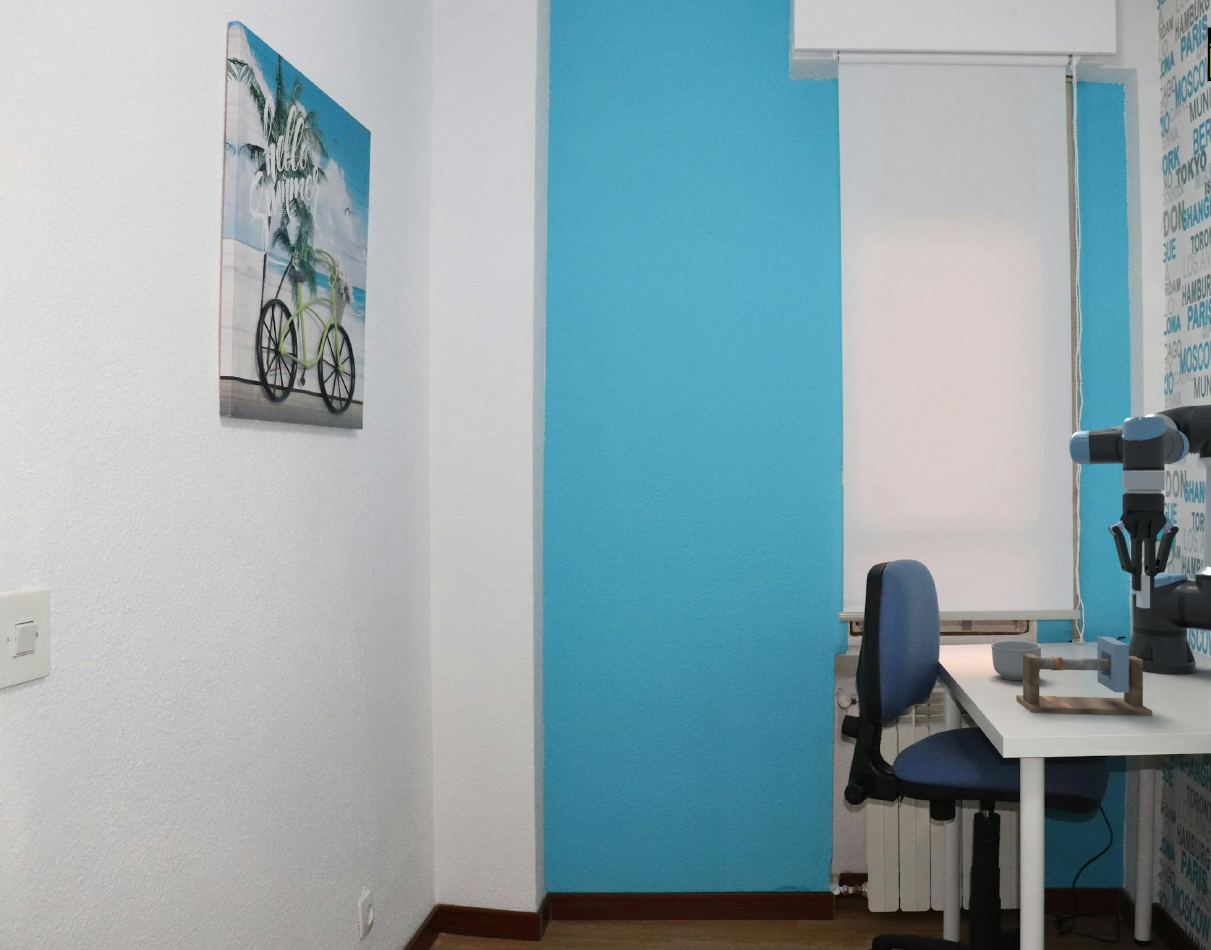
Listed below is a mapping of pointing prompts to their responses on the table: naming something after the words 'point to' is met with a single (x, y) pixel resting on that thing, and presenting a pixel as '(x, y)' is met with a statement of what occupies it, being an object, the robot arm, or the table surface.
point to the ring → (1114, 664)
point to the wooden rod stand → (1081, 705)
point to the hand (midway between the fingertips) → (1143, 607)
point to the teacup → (1012, 657)
